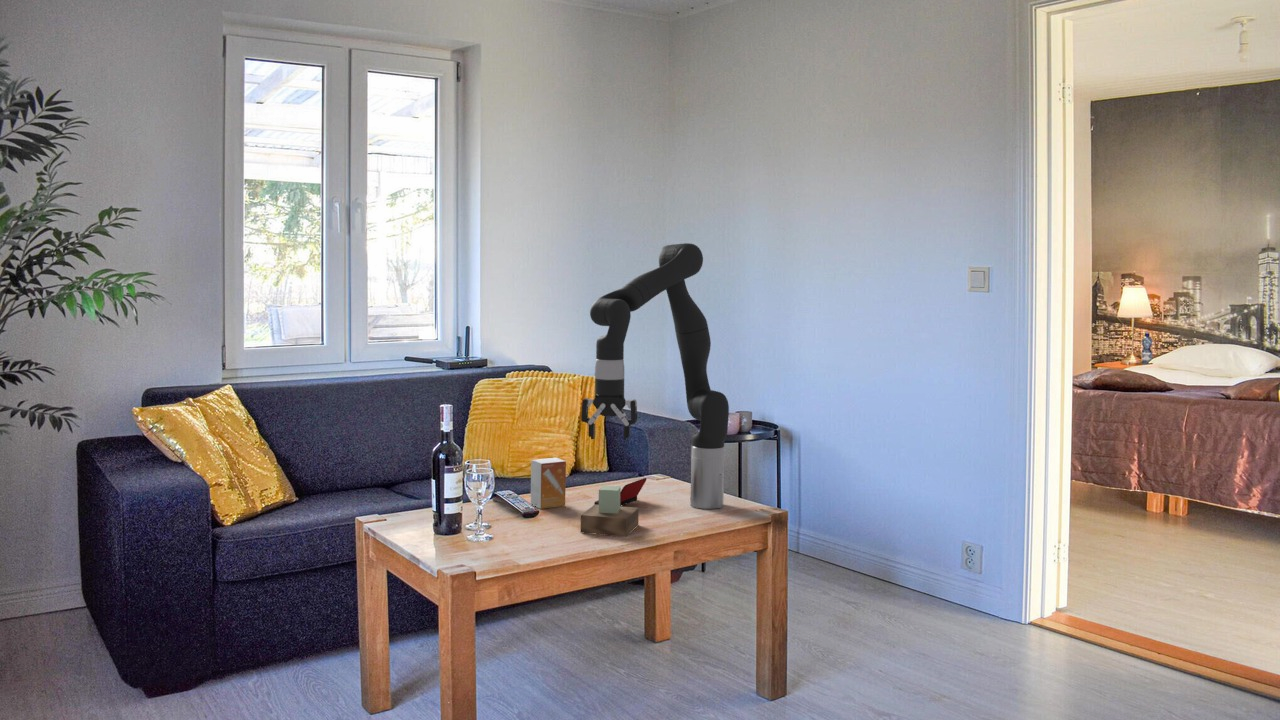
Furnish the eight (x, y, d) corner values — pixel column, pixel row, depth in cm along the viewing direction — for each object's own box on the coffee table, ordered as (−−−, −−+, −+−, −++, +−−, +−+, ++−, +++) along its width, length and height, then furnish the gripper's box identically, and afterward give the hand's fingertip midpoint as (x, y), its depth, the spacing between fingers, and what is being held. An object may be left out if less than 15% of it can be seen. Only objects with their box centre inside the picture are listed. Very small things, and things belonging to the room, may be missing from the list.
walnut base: (638, 526, 262) (638, 507, 262) (625, 538, 251) (626, 518, 250) (594, 522, 265) (595, 504, 265) (580, 534, 254) (580, 514, 253)
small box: (540, 509, 277) (540, 463, 276) (530, 504, 282) (530, 459, 281) (566, 506, 282) (566, 460, 280) (555, 501, 287) (555, 456, 286)
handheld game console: (615, 497, 294) (616, 472, 294) (647, 502, 289) (647, 477, 288) (592, 505, 284) (592, 480, 283) (624, 511, 278) (625, 485, 277)
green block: (620, 508, 260) (620, 486, 260) (617, 513, 256) (618, 490, 255) (601, 508, 261) (601, 485, 260) (598, 512, 256) (598, 489, 255)
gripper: (639, 376, 258) (638, 437, 259) (585, 374, 260) (585, 435, 262) (634, 379, 251) (634, 443, 252) (579, 377, 253) (578, 440, 254)
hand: (609, 439), depth 257 cm, fingers open, 8 cm apart
